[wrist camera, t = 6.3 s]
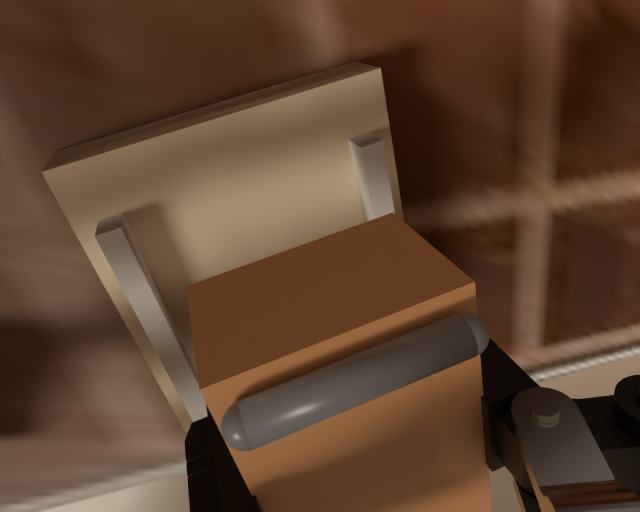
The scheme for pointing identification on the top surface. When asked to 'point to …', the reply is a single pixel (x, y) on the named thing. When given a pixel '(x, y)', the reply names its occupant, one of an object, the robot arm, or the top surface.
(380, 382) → the orange box with handle
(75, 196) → the dock
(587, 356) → the top surface
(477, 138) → the top surface
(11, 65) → the top surface
